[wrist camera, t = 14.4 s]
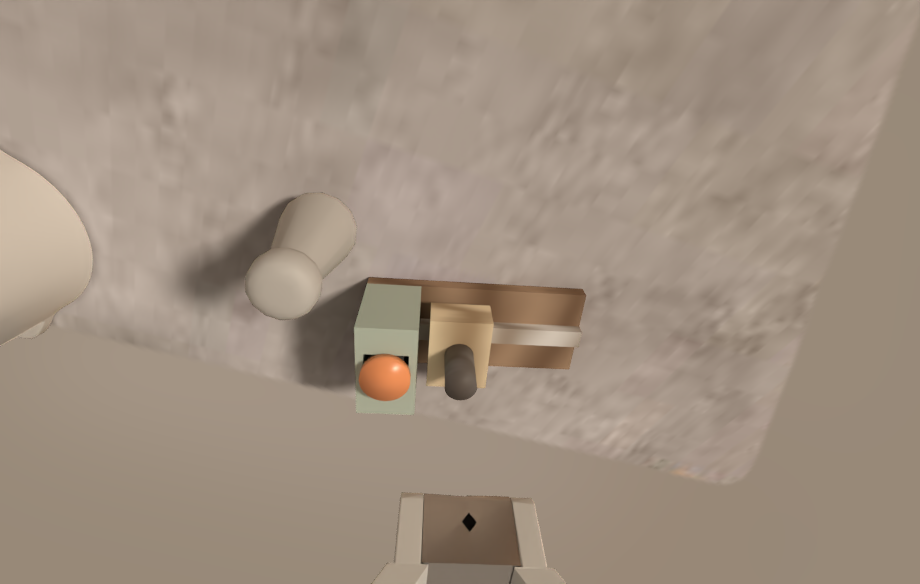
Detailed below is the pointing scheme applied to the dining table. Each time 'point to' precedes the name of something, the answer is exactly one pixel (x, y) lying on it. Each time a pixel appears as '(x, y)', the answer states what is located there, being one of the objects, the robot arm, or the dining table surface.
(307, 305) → the salt shaker
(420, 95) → the dining table surface
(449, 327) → the carriage
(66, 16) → the dining table surface
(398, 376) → the button
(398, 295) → the end cabinet
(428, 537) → the robot arm
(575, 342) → the rail bed
